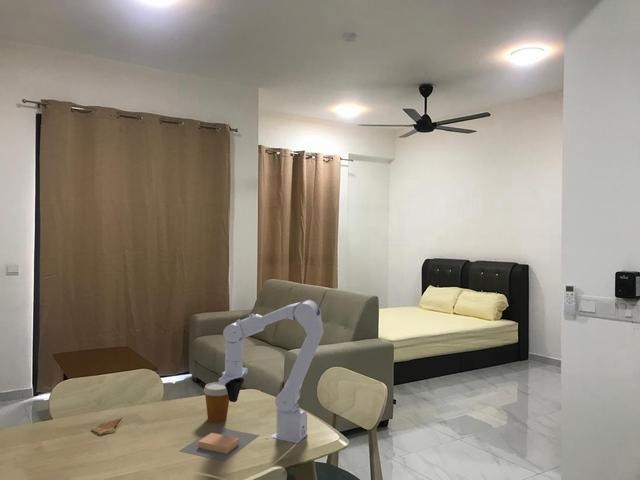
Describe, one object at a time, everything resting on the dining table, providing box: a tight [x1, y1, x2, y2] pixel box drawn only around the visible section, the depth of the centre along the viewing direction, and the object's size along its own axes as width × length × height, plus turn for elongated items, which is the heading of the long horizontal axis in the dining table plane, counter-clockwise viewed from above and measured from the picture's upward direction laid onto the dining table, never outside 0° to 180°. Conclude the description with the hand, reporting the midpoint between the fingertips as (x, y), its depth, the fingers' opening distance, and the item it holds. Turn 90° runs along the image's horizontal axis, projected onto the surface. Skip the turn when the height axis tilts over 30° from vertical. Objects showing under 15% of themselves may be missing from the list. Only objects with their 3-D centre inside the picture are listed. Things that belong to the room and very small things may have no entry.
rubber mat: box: [178, 426, 260, 462], centre depth 153 cm, size 16×20×1 cm
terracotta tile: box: [198, 433, 239, 454], centre depth 150 cm, size 10×2×7 cm
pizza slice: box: [91, 417, 123, 435], centre depth 164 cm, size 11×8×2 cm
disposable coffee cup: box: [203, 381, 230, 424], centre depth 173 cm, size 10×10×12 cm
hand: (233, 401), depth 163 cm, fingers closed
